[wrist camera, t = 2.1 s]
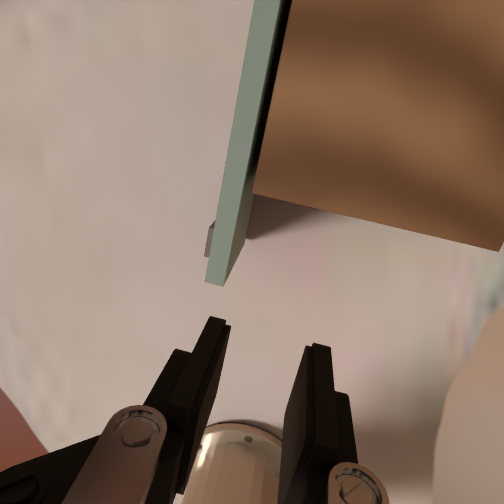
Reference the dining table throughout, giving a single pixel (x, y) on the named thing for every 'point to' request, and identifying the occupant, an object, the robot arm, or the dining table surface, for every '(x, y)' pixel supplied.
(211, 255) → the sage green panel
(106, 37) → the dining table surface
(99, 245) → the dining table surface
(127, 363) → the dining table surface
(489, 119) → the cabinet
